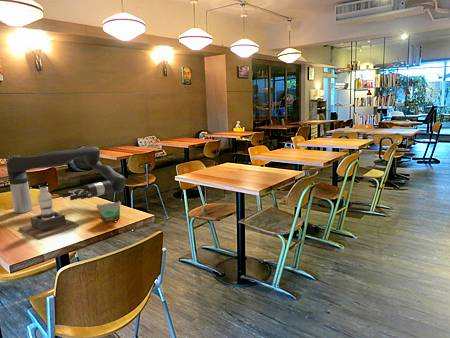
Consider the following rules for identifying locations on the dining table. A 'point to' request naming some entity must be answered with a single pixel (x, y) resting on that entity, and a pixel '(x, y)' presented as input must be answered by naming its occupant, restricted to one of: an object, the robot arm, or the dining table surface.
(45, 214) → the plastic bottle
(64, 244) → the dining table surface
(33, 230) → the bottle holder
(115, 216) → the food container
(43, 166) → the robot arm
